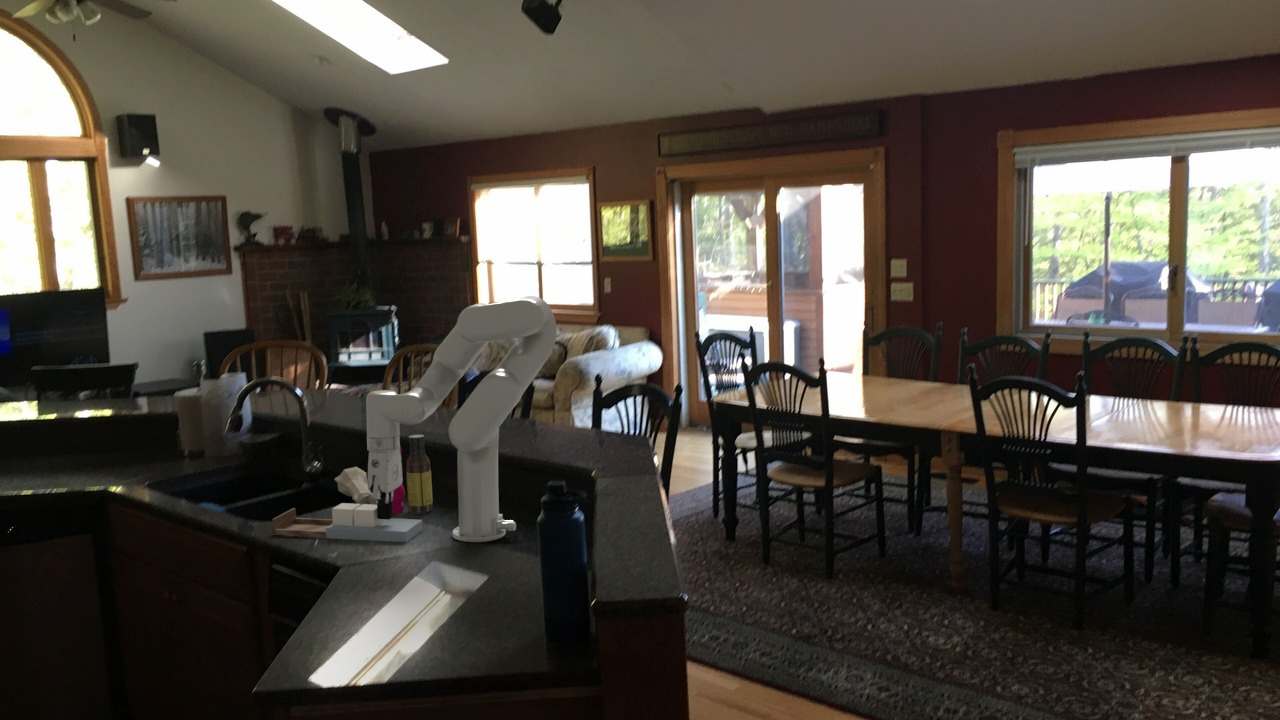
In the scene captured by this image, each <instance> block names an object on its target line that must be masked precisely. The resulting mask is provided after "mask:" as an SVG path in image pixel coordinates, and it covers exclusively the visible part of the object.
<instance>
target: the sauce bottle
mask: <svg viewBox="0 0 1280 720" xmlns="http://www.w3.org/2000/svg"><path fill="white" fill-rule="evenodd" d="M407 438H408V443H409V456H408V457H407V460H406V464H405V465H406V486H407V488H406V489H407V490H406V491H407V502H408V503H407V505H408V511H409V512H410V513H413V514H425V513H428V512H431V511H432V510H433V502H434V501H433V486H432V485H433V484H432V469H431V461H430V459H429V457H428V456H427V454H426V449H425V435H424V434H413V435H409V436H408V437H407Z"/></svg>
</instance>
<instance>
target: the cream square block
mask: <svg viewBox="0 0 1280 720" xmlns="http://www.w3.org/2000/svg"><path fill="white" fill-rule="evenodd" d="M359 506H361V504H357V503H351V502H350V503H346V502H342V503H339V504H338V505H336V506H334V507H332V508H331V513H332V514H331V517H332V518H331V520H333V525H343V526H353V525H354V509H356V508H357V507H359Z"/></svg>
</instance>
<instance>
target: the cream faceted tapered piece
mask: <svg viewBox="0 0 1280 720" xmlns="http://www.w3.org/2000/svg"><path fill="white" fill-rule="evenodd" d="M334 480H335V482H336V483H337V489H338V492H340V493H342V494H343V495H345V496H347V497H349V498H350V497H352V498H351V499H352V500H353V501H354V502H355V503H356V504H361V505H362V504H373V505H377V503H376V499H373V492H370V491H369V489H368V474H367V472H365V470H363V469H361V468H359V467H358V466H353V467H349V468H345V469H343V470H342V472H341V473H340V474H339V475H338V476H337V477H335V478H334Z"/></svg>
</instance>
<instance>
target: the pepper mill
mask: <svg viewBox="0 0 1280 720" xmlns="http://www.w3.org/2000/svg"><path fill="white" fill-rule="evenodd" d="M400 454H401V455H402V447H401V446H400ZM380 490H381V489H380ZM405 497H406V490H405V488H404V485H403V483H402V484H401V485H400V486H399V487H398V488H396V489H395V490H394V492H393V501H392V502H393V515H398V514H401V513H403V512H404V510H405V509H404V508H405V507H404V505H405V504H404V503H403V501H404V499H405Z"/></svg>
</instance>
